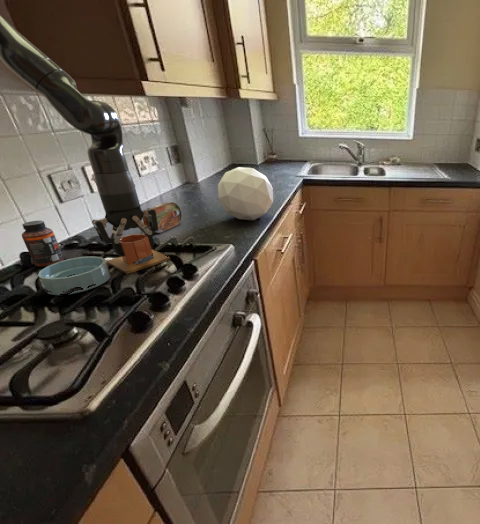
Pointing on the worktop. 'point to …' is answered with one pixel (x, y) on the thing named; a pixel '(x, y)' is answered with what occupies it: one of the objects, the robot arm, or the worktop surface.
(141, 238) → the small bowl
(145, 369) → the worktop surface
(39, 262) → the supplement bottle
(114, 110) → the robot arm
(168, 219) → the tin
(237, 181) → the ball
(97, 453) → the worktop surface
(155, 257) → the board
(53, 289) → the big bowl
